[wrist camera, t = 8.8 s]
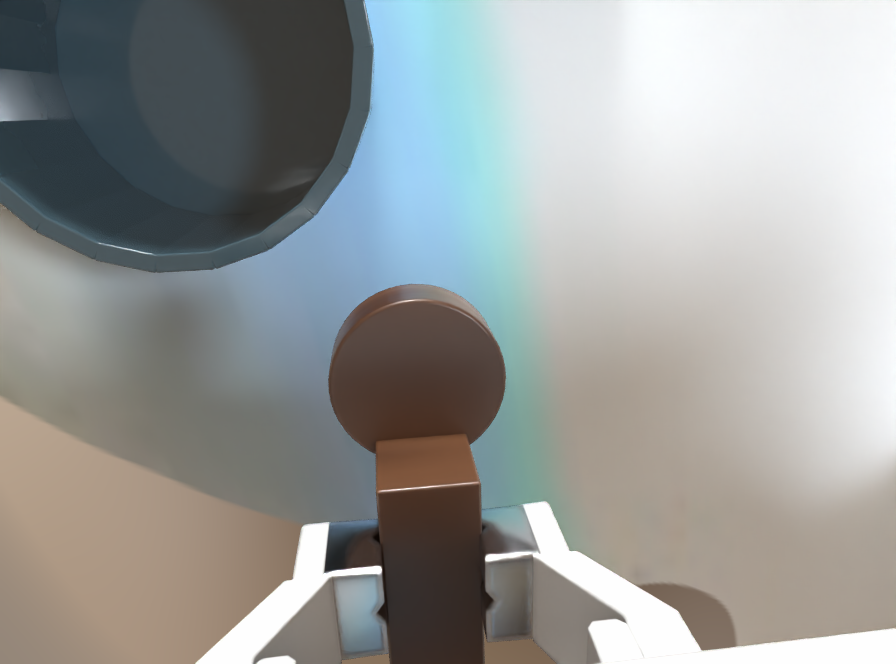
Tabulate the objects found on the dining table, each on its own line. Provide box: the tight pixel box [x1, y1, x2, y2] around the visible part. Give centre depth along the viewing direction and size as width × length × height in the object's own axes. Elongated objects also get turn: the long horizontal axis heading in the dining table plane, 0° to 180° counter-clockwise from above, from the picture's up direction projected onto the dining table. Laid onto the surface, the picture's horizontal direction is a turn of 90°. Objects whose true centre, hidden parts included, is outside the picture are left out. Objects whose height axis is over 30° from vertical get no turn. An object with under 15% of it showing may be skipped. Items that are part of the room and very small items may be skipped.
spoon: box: [328, 284, 506, 664], centre depth 13 cm, size 8×3×3 cm, turn 2°
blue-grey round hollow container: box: [0, 0, 374, 273], centre depth 23 cm, size 13×13×8 cm
